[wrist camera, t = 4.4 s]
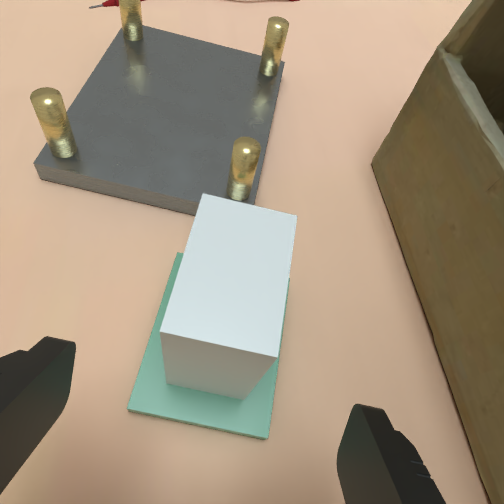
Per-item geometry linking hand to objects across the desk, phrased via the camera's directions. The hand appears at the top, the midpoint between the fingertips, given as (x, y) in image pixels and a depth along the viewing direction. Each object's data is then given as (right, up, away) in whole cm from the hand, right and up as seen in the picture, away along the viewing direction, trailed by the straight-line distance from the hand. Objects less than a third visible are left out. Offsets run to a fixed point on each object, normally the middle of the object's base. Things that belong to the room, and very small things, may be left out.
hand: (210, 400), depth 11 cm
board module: (-1, -1, +11) cm, 11 cm away
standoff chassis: (-4, +14, +19) cm, 25 cm away
